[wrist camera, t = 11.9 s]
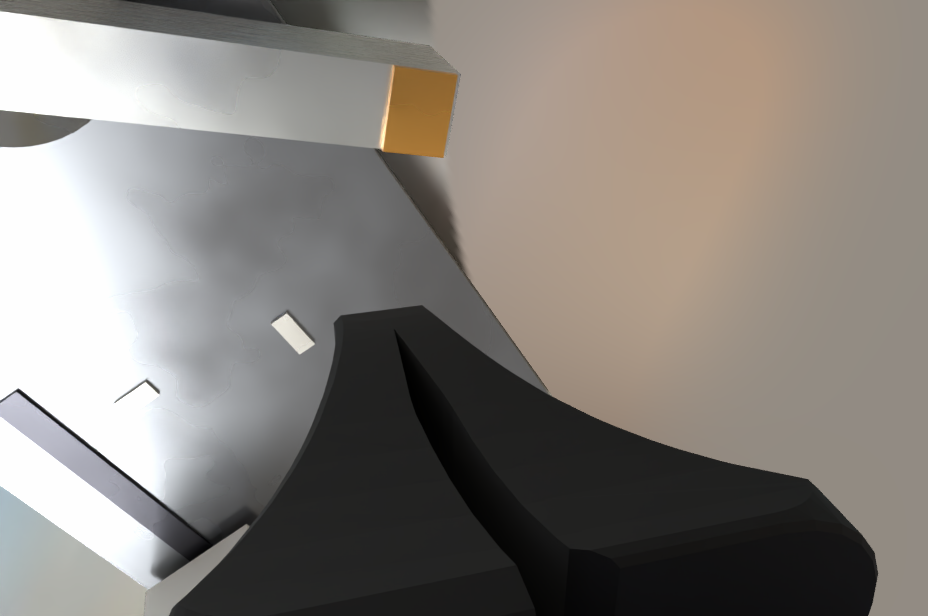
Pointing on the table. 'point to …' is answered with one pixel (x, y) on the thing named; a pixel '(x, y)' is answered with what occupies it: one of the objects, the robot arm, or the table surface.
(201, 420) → the console plate
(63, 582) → the table surface
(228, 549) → the cap
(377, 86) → the selector lever
